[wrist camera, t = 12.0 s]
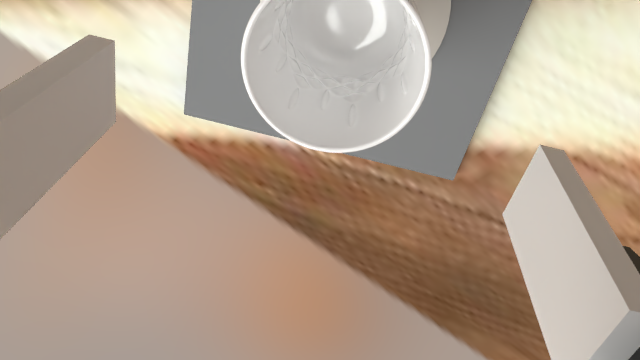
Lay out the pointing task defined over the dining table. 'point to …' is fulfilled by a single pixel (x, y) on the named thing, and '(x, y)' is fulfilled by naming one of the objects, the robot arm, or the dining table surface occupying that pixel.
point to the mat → (433, 114)
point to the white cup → (336, 69)
